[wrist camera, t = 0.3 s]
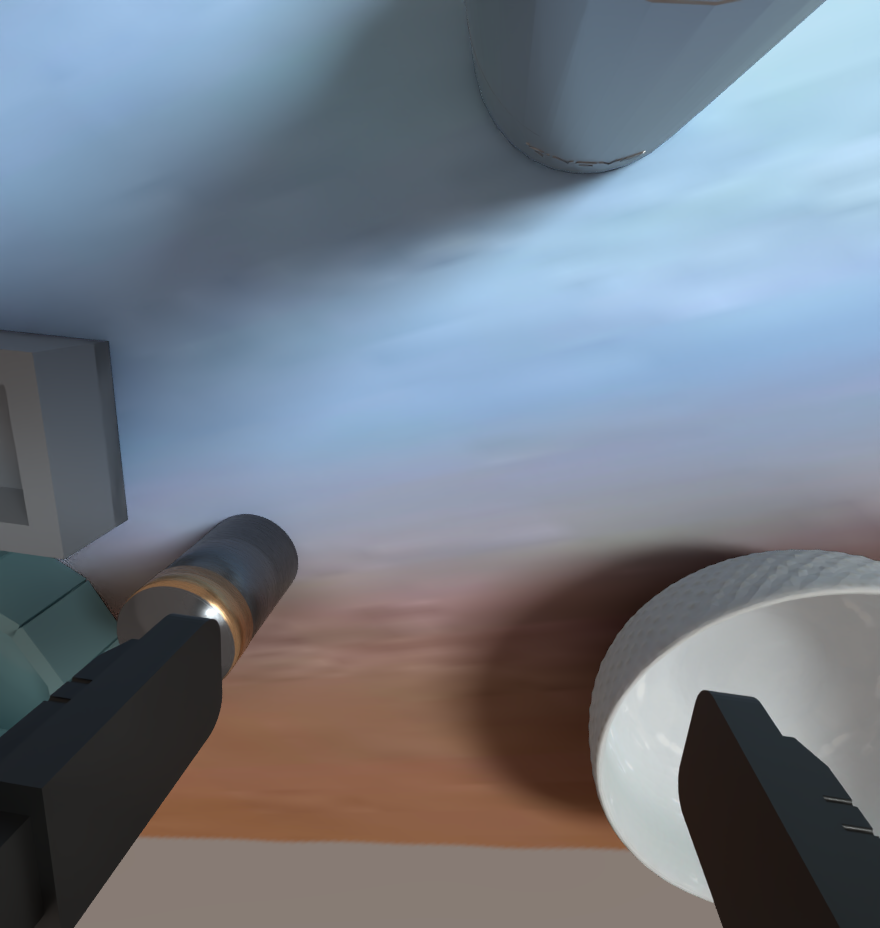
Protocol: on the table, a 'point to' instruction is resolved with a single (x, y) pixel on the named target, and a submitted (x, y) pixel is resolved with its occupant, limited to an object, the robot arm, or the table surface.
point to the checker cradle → (57, 445)
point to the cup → (45, 631)
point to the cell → (219, 584)
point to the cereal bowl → (738, 687)
